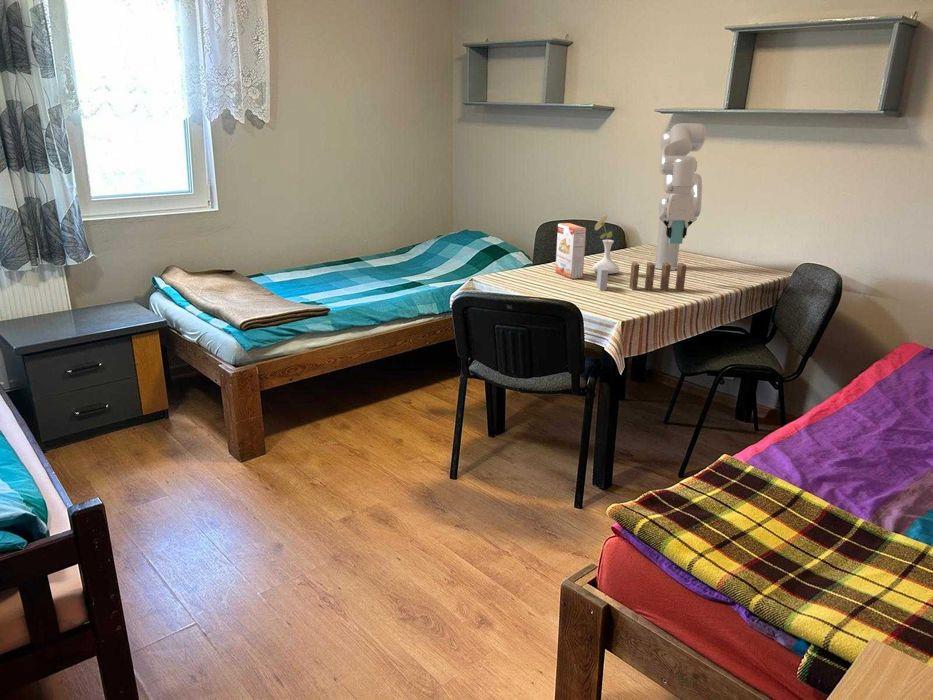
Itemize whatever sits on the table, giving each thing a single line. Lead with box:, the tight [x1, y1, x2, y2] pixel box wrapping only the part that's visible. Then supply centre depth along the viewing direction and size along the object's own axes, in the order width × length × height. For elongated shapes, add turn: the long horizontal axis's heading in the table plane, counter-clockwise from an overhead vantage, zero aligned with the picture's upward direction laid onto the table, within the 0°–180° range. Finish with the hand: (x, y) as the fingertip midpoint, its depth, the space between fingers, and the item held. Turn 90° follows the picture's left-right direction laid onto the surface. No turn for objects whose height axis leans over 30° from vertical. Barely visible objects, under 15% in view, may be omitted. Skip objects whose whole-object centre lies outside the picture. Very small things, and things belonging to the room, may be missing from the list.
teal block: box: [668, 221, 684, 245], centre depth 282 cm, size 2×5×10 cm, turn 90°
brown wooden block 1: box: [629, 261, 640, 291], centre depth 276 cm, size 2×5×10 cm, turn 0°
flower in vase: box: [591, 214, 620, 275], centre depth 300 cm, size 13×11×25 cm
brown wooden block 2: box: [674, 262, 687, 292], centre depth 276 cm, size 2×5×10 cm, turn 0°
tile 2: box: [659, 263, 671, 292], centre depth 276 cm, size 2×5×10 cm, turn 0°
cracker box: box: [555, 222, 587, 280], centre depth 295 cm, size 14×6×21 cm, turn 21°
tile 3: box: [644, 261, 656, 291], centre depth 276 cm, size 2×5×10 cm, turn 0°
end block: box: [596, 266, 609, 291], centre depth 276 cm, size 8×2×8 cm, turn 0°
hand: (675, 236), depth 283 cm, fingers closed on teal block, 4 cm apart
